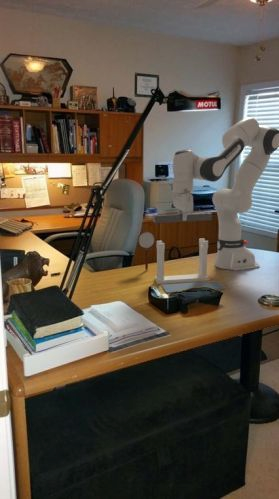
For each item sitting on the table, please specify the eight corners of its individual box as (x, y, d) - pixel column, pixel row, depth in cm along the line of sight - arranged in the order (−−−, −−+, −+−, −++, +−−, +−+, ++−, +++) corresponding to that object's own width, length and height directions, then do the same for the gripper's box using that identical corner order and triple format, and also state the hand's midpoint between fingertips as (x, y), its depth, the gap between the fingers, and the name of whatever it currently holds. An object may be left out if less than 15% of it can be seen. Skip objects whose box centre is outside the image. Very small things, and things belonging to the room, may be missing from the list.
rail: (209, 219, 182) (209, 212, 182) (211, 220, 180) (212, 213, 179) (153, 221, 178) (153, 215, 178) (154, 223, 175) (154, 216, 175)
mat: (217, 282, 182) (217, 280, 182) (225, 289, 173) (225, 288, 173) (161, 285, 178) (161, 284, 178) (166, 293, 168) (166, 292, 168)
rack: (204, 276, 190) (205, 238, 186) (208, 280, 185) (210, 241, 180) (154, 279, 186) (154, 240, 182) (157, 283, 181) (157, 243, 176)
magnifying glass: (154, 269, 202) (154, 230, 198) (155, 270, 201) (155, 231, 196) (137, 271, 201) (137, 231, 196) (138, 271, 199) (138, 232, 194)
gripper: (197, 190, 166) (196, 223, 169) (183, 185, 186) (183, 215, 189) (182, 190, 165) (182, 224, 168) (170, 186, 185) (170, 216, 188)
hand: (182, 219), depth 179 cm, fingers closed on rail, 3 cm apart
